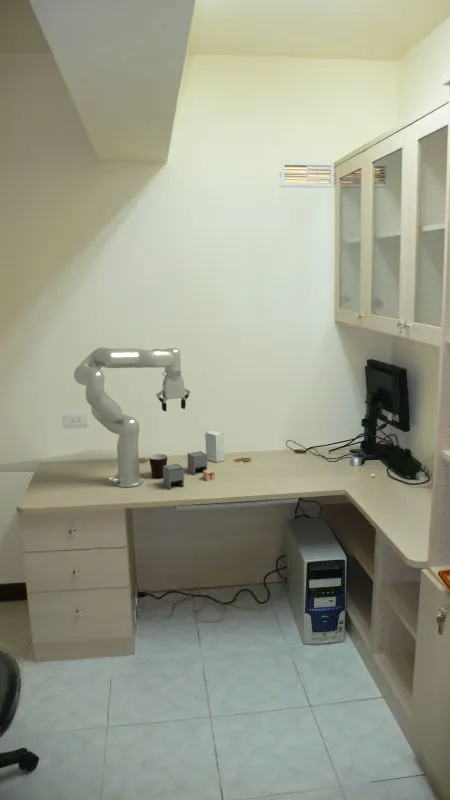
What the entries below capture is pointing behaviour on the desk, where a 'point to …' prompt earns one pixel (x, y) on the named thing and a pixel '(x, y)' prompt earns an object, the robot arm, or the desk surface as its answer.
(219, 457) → the skincare box
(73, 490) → the desk surface
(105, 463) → the desk surface
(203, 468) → the cover right
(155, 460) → the coffee mug
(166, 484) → the cover left
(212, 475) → the letter cube
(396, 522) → the desk surface
